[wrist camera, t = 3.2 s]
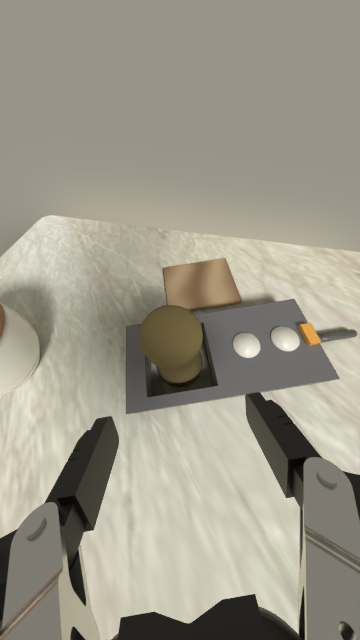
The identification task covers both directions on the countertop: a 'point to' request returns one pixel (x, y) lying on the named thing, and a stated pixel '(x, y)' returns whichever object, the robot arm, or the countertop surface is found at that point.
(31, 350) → the lidded bowl
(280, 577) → the countertop surface
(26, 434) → the countertop surface
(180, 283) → the cork pad
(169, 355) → the pepper shaker
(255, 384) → the charging strip
